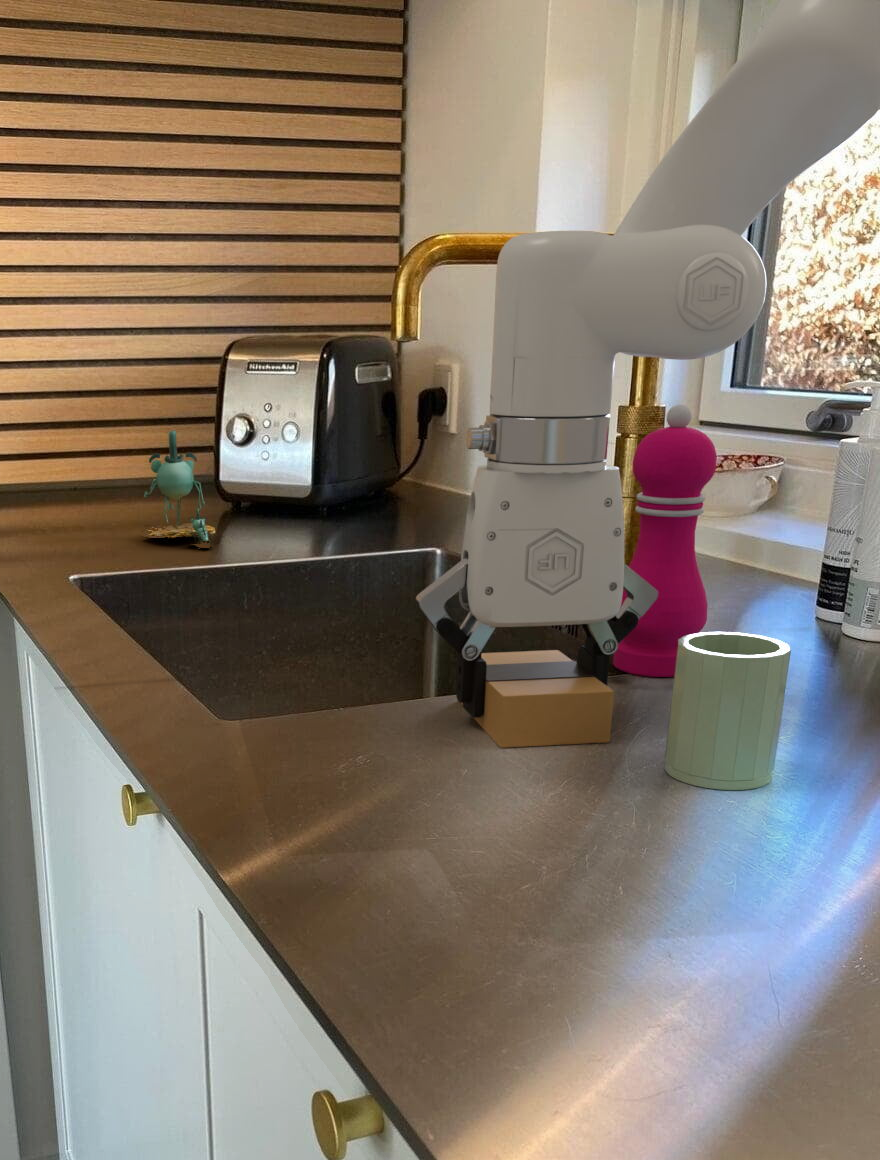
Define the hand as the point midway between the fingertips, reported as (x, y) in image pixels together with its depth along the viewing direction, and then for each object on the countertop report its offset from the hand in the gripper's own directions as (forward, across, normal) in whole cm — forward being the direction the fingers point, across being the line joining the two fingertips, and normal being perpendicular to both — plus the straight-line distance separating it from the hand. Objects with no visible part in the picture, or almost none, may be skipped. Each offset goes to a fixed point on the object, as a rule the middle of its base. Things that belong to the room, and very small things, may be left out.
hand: (530, 707), depth 84 cm
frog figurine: (+1, -21, +82) cm, 85 cm away
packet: (+1, 0, 0) cm, 1 cm away
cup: (+1, +8, -12) cm, 14 cm away
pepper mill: (+1, +14, +12) cm, 18 cm away
